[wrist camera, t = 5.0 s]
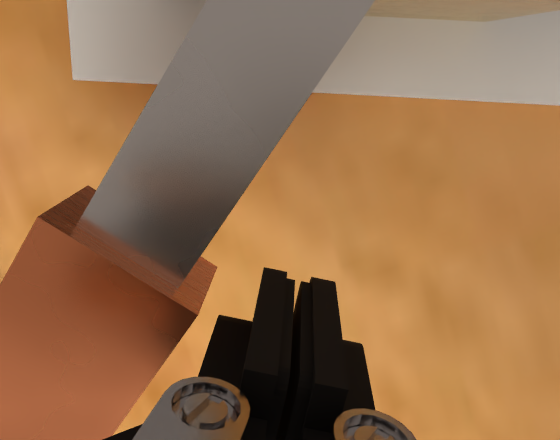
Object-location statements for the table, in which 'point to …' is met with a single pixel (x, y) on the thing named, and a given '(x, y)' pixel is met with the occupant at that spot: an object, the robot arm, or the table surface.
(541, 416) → the table surface
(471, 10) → the valve housing block
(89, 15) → the base board
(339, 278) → the table surface
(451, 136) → the table surface
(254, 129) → the valve lever
